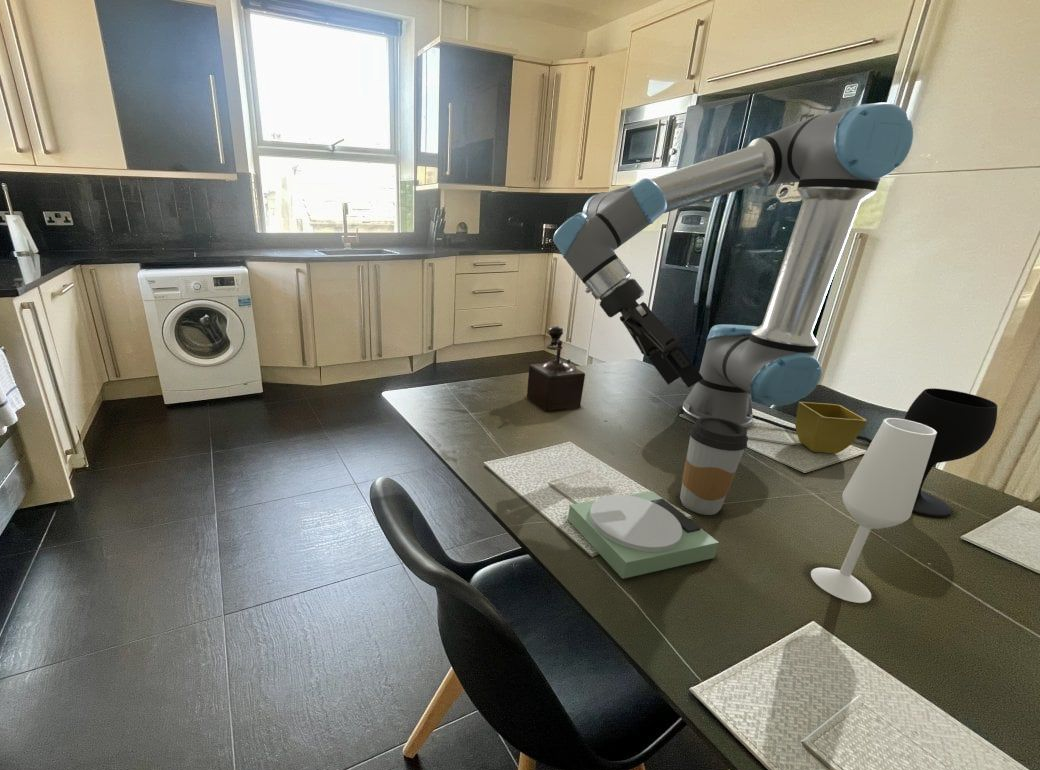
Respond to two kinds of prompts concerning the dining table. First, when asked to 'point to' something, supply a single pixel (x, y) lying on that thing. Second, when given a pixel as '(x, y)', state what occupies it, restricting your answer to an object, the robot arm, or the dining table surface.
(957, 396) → the wine glass
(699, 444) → the coffee cup
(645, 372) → the dining table surface
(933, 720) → the dining table surface
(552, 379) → the brown coffee grinder
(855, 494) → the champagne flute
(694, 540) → the kitchen scale
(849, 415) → the flower pot
